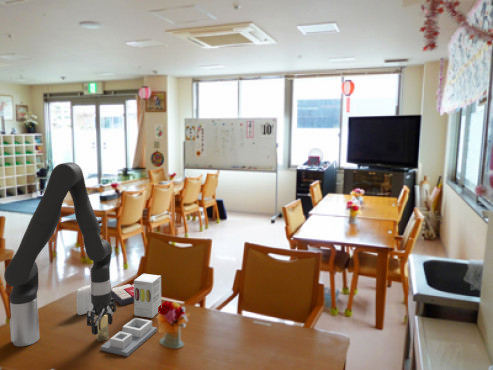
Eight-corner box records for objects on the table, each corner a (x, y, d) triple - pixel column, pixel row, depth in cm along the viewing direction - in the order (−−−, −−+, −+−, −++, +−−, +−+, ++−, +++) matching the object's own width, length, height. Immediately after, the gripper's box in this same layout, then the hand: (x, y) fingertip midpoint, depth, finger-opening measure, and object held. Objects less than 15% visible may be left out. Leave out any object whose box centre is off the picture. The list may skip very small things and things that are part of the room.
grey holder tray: (101, 350, 147) (100, 339, 147) (132, 325, 166) (132, 315, 166) (127, 356, 144) (127, 345, 143) (157, 330, 162) (156, 320, 162)
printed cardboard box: (121, 299, 185) (109, 287, 196) (121, 307, 185) (109, 295, 196) (142, 293, 192) (129, 282, 203) (142, 301, 192) (129, 290, 203)
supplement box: (133, 315, 175) (132, 280, 173) (143, 306, 184) (142, 273, 182) (153, 318, 173) (152, 282, 171) (162, 309, 182) (161, 275, 180)
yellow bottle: (94, 340, 154) (93, 311, 153) (102, 334, 158) (101, 307, 157) (103, 342, 153) (102, 313, 151) (110, 336, 157) (109, 309, 155)
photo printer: (97, 306, 184) (96, 281, 182) (101, 309, 181) (100, 284, 179) (75, 313, 177) (74, 287, 175) (79, 316, 174) (78, 290, 172)
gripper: (105, 282, 161) (106, 319, 163) (80, 296, 147) (82, 335, 150) (120, 285, 158) (121, 322, 161) (96, 299, 145) (97, 339, 147)
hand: (102, 328), depth 155 cm, fingers open, 8 cm apart
